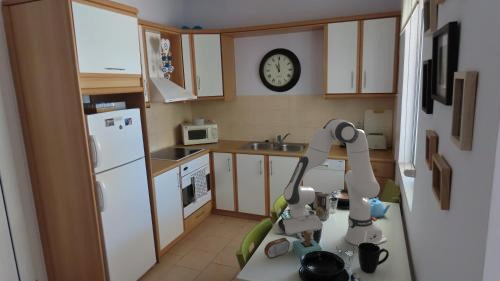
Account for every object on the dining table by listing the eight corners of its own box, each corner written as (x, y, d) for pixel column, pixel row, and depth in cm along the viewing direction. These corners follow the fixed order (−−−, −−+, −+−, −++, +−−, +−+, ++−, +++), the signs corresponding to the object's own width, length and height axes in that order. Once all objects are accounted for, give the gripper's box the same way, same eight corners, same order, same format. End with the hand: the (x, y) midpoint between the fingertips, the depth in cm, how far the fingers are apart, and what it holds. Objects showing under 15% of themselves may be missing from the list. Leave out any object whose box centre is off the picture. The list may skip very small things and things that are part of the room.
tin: (287, 249, 170) (287, 235, 168) (290, 252, 167) (290, 237, 166) (263, 258, 162) (263, 243, 161) (267, 260, 160) (267, 245, 158)
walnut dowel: (308, 247, 168) (308, 230, 166) (311, 250, 164) (311, 233, 163) (302, 248, 167) (302, 231, 165) (305, 251, 163) (305, 234, 162)
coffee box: (329, 217, 208) (330, 193, 205) (326, 220, 203) (326, 197, 200) (316, 214, 213) (316, 191, 210) (312, 217, 208) (313, 194, 205)
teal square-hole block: (311, 246, 173) (311, 237, 172) (321, 256, 162) (321, 247, 161) (293, 249, 170) (293, 241, 169) (302, 260, 159) (302, 251, 158)
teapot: (357, 210, 218) (357, 195, 216) (377, 208, 221) (377, 193, 219) (369, 219, 203) (370, 204, 201) (390, 217, 206) (391, 202, 204)
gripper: (283, 216, 166) (291, 242, 158) (318, 210, 172) (327, 235, 164) (280, 220, 171) (287, 246, 164) (314, 215, 177) (322, 239, 169)
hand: (307, 240), depth 164 cm, fingers closed on walnut dowel, 3 cm apart
